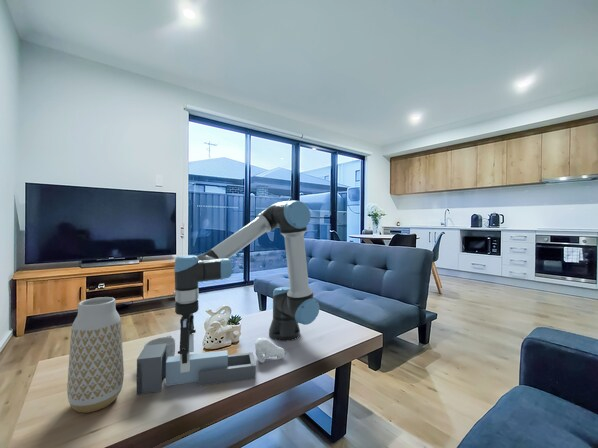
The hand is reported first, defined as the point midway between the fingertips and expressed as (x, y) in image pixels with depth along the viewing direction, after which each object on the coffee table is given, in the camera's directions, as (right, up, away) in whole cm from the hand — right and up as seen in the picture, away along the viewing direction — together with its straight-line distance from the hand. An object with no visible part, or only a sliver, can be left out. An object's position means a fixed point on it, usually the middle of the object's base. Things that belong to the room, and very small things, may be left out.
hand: (187, 361), depth 96 cm
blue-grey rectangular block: (+3, -7, +1) cm, 7 cm away
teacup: (-15, -6, +12) cm, 20 cm away
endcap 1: (-11, -6, -3) cm, 13 cm away
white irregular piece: (+27, -7, +15) cm, 31 cm away
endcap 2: (+14, -6, +4) cm, 16 cm away
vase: (-23, -6, -13) cm, 27 cm away
